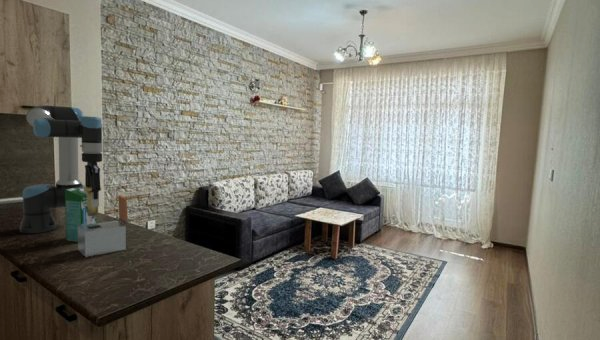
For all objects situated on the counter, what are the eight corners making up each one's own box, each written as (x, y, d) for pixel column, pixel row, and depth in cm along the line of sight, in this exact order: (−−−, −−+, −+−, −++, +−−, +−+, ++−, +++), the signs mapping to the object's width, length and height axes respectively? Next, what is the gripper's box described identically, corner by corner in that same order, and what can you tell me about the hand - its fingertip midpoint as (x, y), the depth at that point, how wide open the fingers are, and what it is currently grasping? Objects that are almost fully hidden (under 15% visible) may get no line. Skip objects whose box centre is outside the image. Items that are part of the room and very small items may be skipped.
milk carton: (81, 242, 158) (80, 190, 156) (65, 240, 160) (64, 189, 157) (97, 236, 167) (96, 188, 165) (81, 235, 169) (80, 186, 166)
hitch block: (78, 249, 149) (77, 225, 148) (117, 242, 160) (116, 220, 159) (85, 257, 141) (84, 232, 140) (125, 249, 152) (125, 226, 151)
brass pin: (82, 214, 146) (82, 187, 145) (99, 212, 151) (98, 185, 150) (86, 217, 142) (85, 189, 141) (103, 215, 146) (102, 188, 145)
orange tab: (122, 220, 159) (118, 220, 158) (120, 195, 158) (117, 195, 157) (128, 224, 153) (125, 224, 152) (127, 198, 152) (123, 198, 151)
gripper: (76, 151, 148) (77, 202, 150) (87, 154, 134) (89, 210, 137) (95, 151, 153) (96, 200, 155) (108, 154, 139) (109, 208, 142)
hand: (92, 204), depth 146 cm, fingers closed on brass pin, 6 cm apart
